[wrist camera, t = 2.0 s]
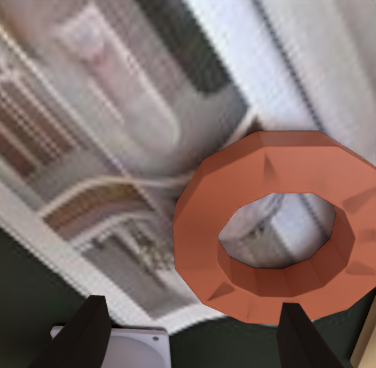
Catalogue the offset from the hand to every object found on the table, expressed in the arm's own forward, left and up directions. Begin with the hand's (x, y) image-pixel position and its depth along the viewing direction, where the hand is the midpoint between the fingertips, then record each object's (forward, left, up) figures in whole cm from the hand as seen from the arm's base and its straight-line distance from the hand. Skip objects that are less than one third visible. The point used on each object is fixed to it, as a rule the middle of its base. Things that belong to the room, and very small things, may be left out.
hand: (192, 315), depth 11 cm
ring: (+5, 0, -7) cm, 8 cm away
